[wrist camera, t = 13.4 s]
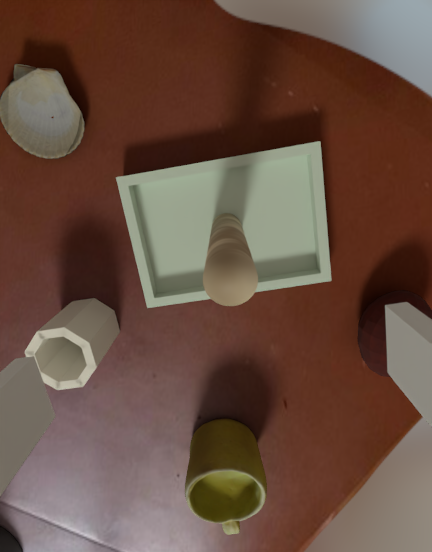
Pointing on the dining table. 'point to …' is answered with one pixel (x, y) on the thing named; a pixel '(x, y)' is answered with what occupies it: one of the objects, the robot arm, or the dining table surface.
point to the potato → (382, 328)
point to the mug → (225, 474)
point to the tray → (235, 200)
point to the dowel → (229, 263)
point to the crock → (74, 343)
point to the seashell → (41, 113)
